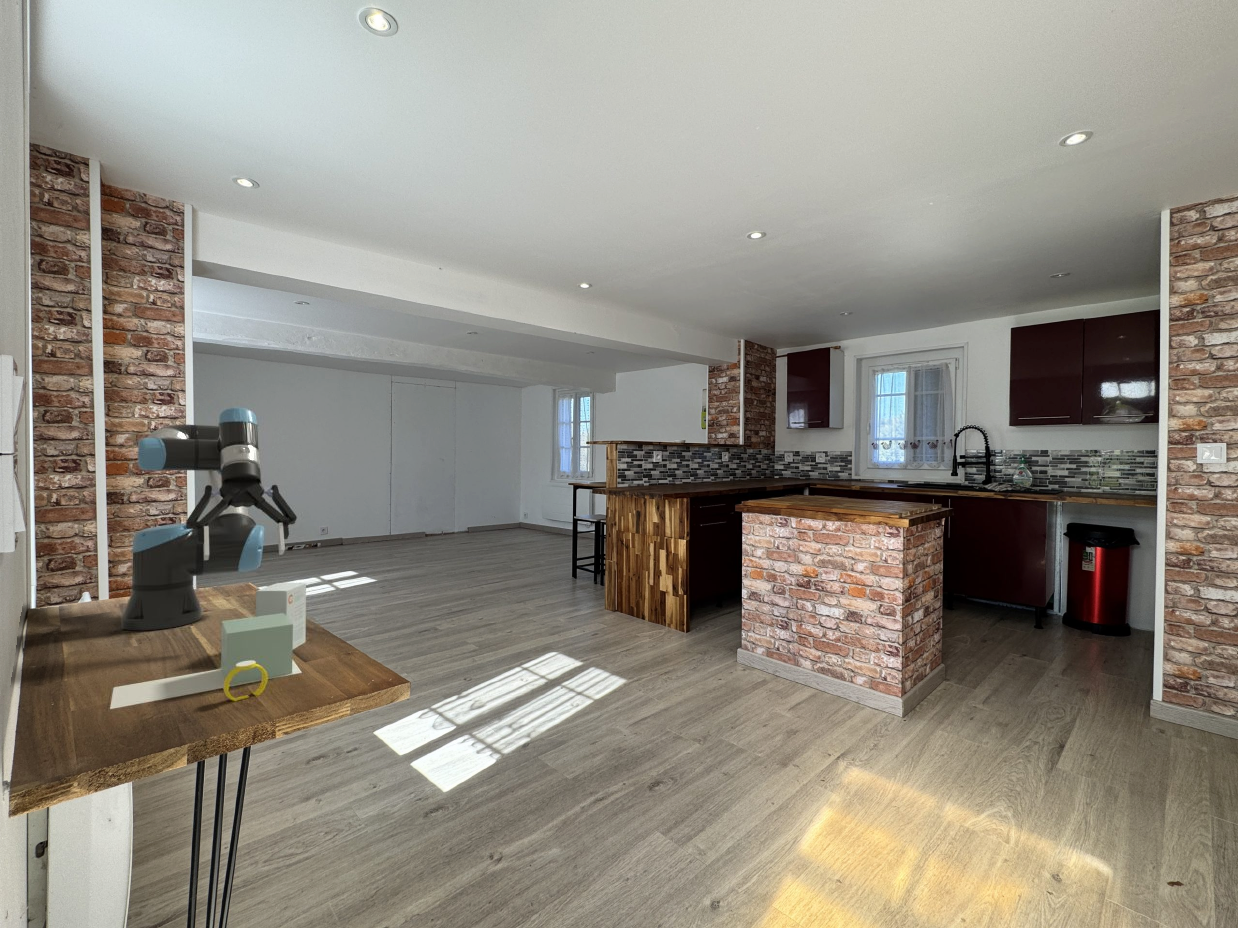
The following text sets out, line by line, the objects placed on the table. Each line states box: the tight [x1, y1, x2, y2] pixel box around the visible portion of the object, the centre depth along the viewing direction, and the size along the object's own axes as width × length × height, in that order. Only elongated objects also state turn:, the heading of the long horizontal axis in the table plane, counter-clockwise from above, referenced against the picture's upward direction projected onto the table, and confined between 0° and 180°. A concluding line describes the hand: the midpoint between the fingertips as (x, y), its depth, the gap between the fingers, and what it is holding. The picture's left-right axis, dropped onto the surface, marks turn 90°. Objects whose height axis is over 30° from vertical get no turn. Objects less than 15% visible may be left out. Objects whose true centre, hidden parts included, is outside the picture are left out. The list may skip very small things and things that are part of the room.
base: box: [109, 658, 303, 710], centre depth 102 cm, size 11×26×1 cm, turn 129°
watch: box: [222, 660, 269, 702], centre depth 95 cm, size 6×3×6 cm, turn 141°
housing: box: [220, 613, 294, 685], centre depth 106 cm, size 10×10×9 cm
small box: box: [255, 582, 307, 650], centre depth 121 cm, size 8×6×13 cm
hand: (245, 554), depth 123 cm, fingers open, 13 cm apart
